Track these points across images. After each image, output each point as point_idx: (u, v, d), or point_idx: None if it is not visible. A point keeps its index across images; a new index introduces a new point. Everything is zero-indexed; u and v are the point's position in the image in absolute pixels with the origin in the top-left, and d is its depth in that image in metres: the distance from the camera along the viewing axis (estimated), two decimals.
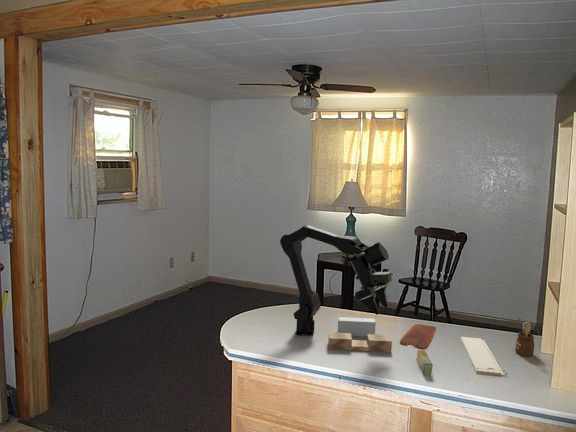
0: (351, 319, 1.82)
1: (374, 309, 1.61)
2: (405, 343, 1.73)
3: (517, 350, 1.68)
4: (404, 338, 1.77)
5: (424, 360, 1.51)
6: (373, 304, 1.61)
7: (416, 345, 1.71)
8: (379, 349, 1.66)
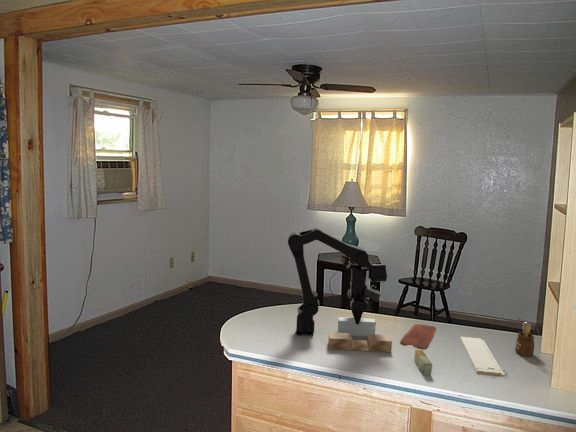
0: (351, 319, 1.82)
1: (357, 319, 1.76)
2: (405, 343, 1.73)
3: (517, 350, 1.68)
4: (404, 338, 1.76)
5: (423, 360, 1.51)
6: (359, 315, 1.75)
7: (416, 345, 1.71)
8: (379, 349, 1.66)
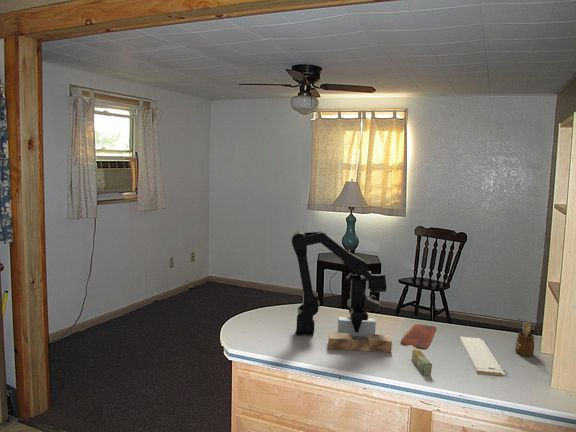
0: None
1: (356, 327, 1.79)
2: (406, 343, 1.73)
3: (517, 350, 1.68)
4: (404, 338, 1.76)
5: (423, 360, 1.51)
6: (359, 323, 1.78)
7: (417, 345, 1.71)
8: (379, 349, 1.66)
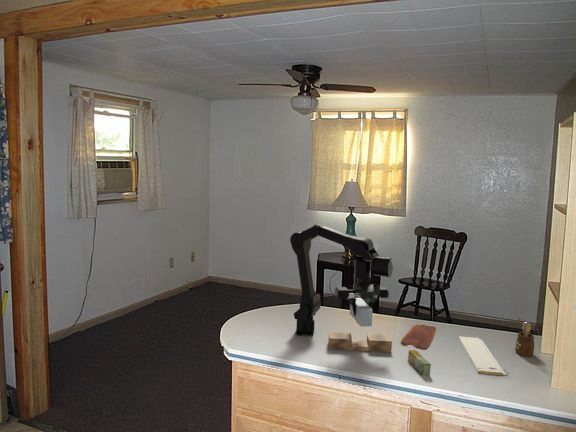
0: (359, 301, 1.72)
1: (352, 309, 1.70)
2: (406, 343, 1.73)
3: (517, 350, 1.68)
4: (405, 338, 1.76)
5: (421, 360, 1.51)
6: (352, 305, 1.69)
7: (417, 345, 1.71)
8: (379, 349, 1.66)
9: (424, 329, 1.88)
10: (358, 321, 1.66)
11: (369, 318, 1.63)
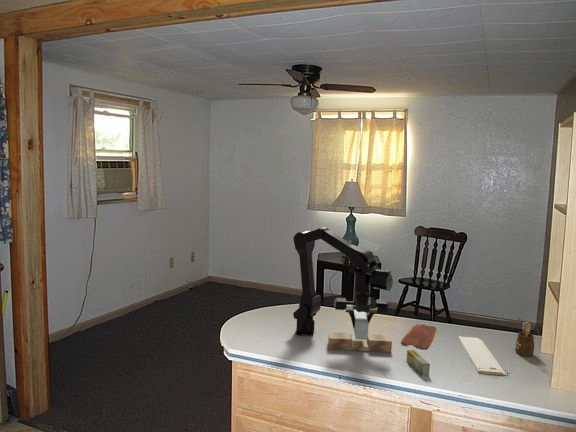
0: (359, 314, 1.70)
1: None
2: (406, 344, 1.73)
3: (517, 350, 1.68)
4: (405, 339, 1.76)
5: (420, 360, 1.50)
6: (351, 317, 1.68)
7: (417, 346, 1.71)
8: (379, 349, 1.66)
9: (424, 329, 1.88)
10: (355, 334, 1.64)
11: (365, 331, 1.61)
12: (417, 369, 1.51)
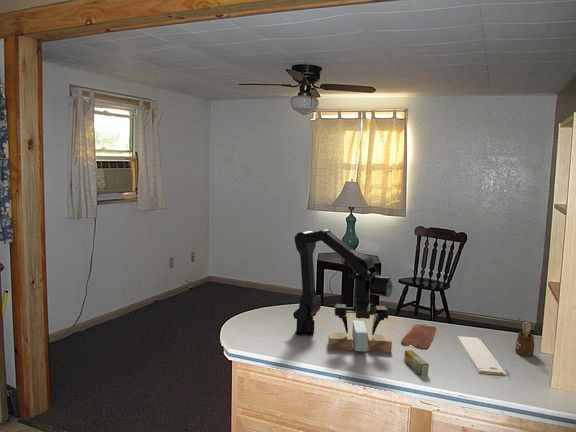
0: (359, 325, 1.70)
1: None
2: (406, 344, 1.72)
3: (517, 350, 1.68)
4: (405, 339, 1.76)
5: (419, 361, 1.50)
6: (344, 323, 1.68)
7: (417, 346, 1.71)
8: (379, 349, 1.66)
9: (424, 329, 1.88)
10: (354, 345, 1.65)
11: (364, 343, 1.62)
12: (416, 369, 1.51)
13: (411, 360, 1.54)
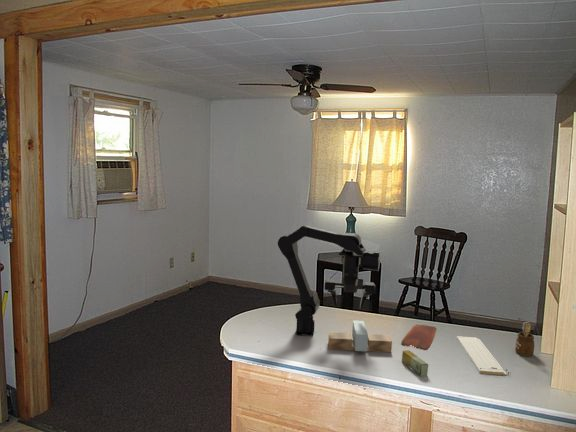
0: (359, 325, 1.70)
1: (334, 301, 1.77)
2: (406, 344, 1.72)
3: (517, 350, 1.68)
4: (405, 339, 1.76)
5: (418, 361, 1.50)
6: (333, 297, 1.76)
7: (418, 346, 1.71)
8: (379, 349, 1.66)
9: (424, 329, 1.88)
10: (354, 345, 1.65)
11: (364, 343, 1.62)
12: (415, 369, 1.51)
13: (409, 360, 1.54)
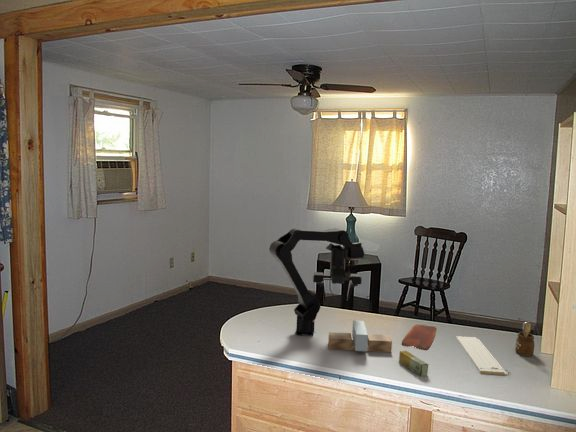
0: (359, 325, 1.70)
1: None
2: (407, 344, 1.72)
3: (517, 350, 1.68)
4: (406, 339, 1.76)
5: (417, 361, 1.50)
6: (321, 289, 1.85)
7: (418, 346, 1.71)
8: (379, 349, 1.66)
9: (424, 329, 1.88)
10: (354, 345, 1.65)
11: (364, 343, 1.62)
12: (415, 370, 1.50)
13: (408, 361, 1.53)
